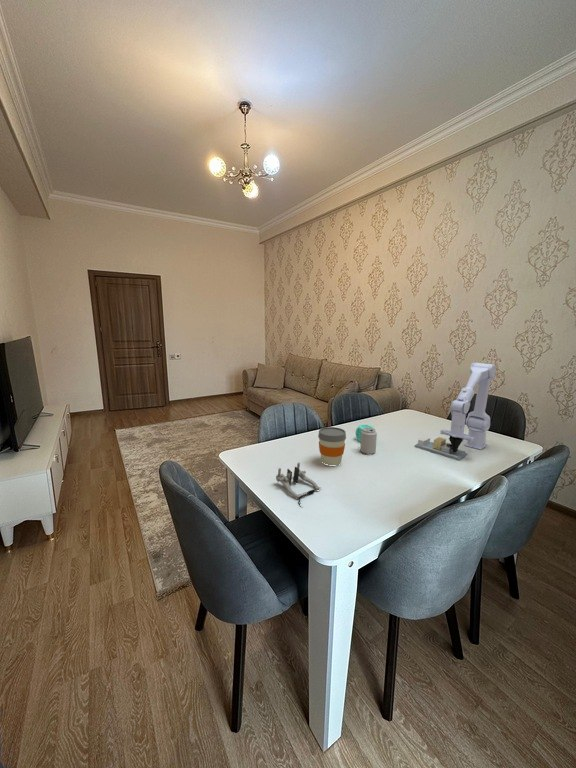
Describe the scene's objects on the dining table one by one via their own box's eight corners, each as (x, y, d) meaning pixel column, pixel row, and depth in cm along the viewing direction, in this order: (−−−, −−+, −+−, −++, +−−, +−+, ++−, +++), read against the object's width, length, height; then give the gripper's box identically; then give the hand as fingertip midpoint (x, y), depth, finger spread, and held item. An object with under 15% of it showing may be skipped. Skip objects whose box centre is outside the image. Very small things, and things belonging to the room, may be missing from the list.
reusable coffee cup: (334, 471, 135) (336, 438, 132) (312, 462, 143) (312, 431, 140) (350, 461, 144) (351, 431, 141) (327, 454, 152) (328, 425, 149)
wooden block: (438, 446, 160) (439, 437, 159) (445, 448, 157) (446, 439, 156) (432, 449, 156) (433, 439, 155) (440, 451, 154) (441, 441, 153)
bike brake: (271, 481, 124) (301, 513, 108) (273, 467, 122) (303, 497, 106) (299, 473, 131) (330, 501, 116) (300, 459, 129) (332, 486, 114)
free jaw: (446, 448, 158) (447, 441, 157) (454, 450, 155) (455, 443, 154) (440, 451, 153) (441, 444, 152) (448, 454, 150) (449, 447, 149)
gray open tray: (423, 442, 168) (424, 435, 167) (467, 455, 152) (468, 447, 151) (414, 446, 162) (415, 439, 161) (459, 460, 145) (460, 452, 145)
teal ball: (364, 444, 165) (364, 430, 164) (355, 439, 172) (355, 425, 171) (376, 442, 168) (376, 428, 167) (366, 437, 176) (367, 423, 174)
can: (376, 455, 151) (377, 432, 149) (360, 454, 152) (361, 431, 150) (375, 449, 158) (376, 427, 156) (360, 448, 160) (361, 426, 157)
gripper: (438, 423, 151) (436, 449, 154) (471, 430, 141) (467, 458, 143) (444, 420, 156) (442, 445, 159) (476, 427, 145) (473, 454, 148)
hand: (454, 451), depth 151 cm, fingers closed
